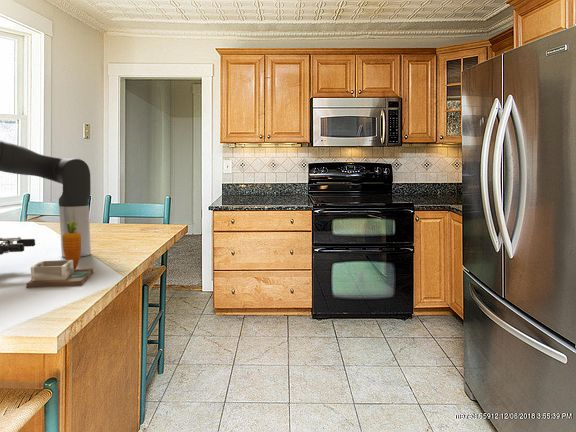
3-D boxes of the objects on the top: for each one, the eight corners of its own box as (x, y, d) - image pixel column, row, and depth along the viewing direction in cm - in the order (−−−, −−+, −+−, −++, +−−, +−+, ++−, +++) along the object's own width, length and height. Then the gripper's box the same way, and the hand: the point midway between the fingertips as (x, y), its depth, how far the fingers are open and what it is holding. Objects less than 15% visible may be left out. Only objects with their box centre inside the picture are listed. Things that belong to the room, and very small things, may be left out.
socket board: (44, 274, 129) (43, 258, 128) (93, 272, 131) (92, 256, 131) (26, 287, 115) (25, 269, 114) (81, 285, 117) (80, 267, 117)
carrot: (63, 269, 135) (61, 219, 134) (82, 267, 138) (79, 218, 136) (64, 272, 131) (61, 221, 129) (83, 271, 133) (80, 220, 131)
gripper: (-48, 237, 121) (19, 235, 124) (-22, 230, 135) (37, 228, 138) (-46, 265, 121) (21, 262, 125) (-21, 254, 135) (38, 252, 138)
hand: (29, 244), depth 131 cm, fingers open, 8 cm apart
